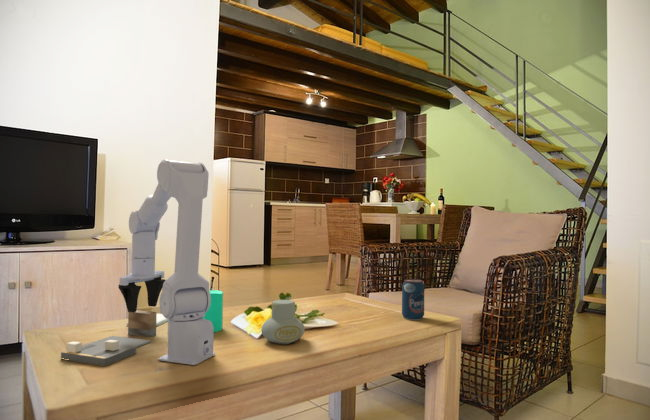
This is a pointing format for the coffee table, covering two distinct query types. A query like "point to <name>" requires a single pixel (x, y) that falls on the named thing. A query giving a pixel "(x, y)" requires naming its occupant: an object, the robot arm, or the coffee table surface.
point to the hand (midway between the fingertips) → (142, 308)
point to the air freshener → (283, 323)
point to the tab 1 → (74, 346)
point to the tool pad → (126, 341)
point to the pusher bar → (142, 323)
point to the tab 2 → (111, 345)
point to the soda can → (413, 299)
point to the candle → (215, 310)
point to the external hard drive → (159, 319)
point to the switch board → (99, 354)
